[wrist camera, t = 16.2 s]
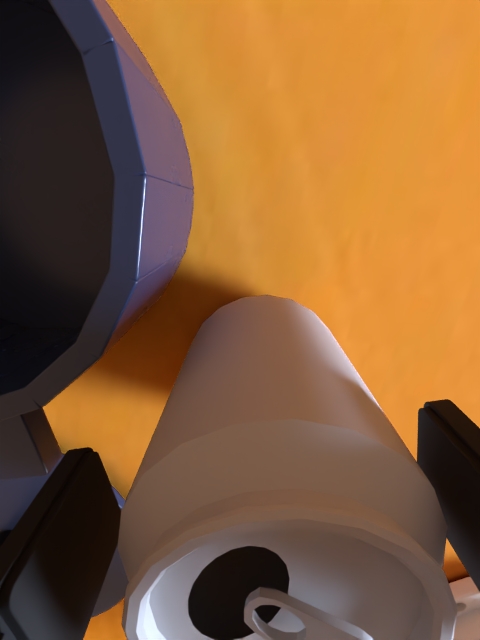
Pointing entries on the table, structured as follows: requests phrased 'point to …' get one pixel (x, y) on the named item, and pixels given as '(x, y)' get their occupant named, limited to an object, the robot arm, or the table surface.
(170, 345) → the table surface
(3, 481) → the pot lid
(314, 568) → the can
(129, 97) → the pot
